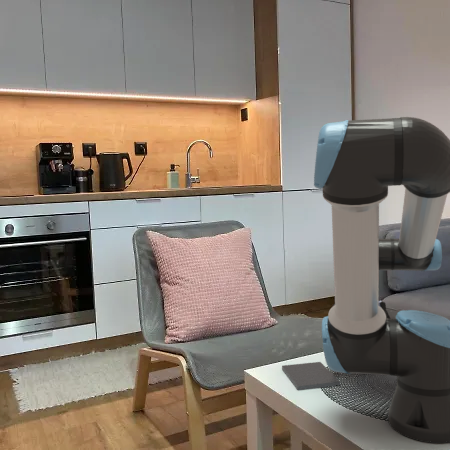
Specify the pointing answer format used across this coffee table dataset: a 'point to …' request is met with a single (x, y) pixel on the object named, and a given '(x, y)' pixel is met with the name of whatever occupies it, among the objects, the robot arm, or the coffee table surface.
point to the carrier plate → (310, 375)
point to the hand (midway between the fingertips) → (360, 363)
